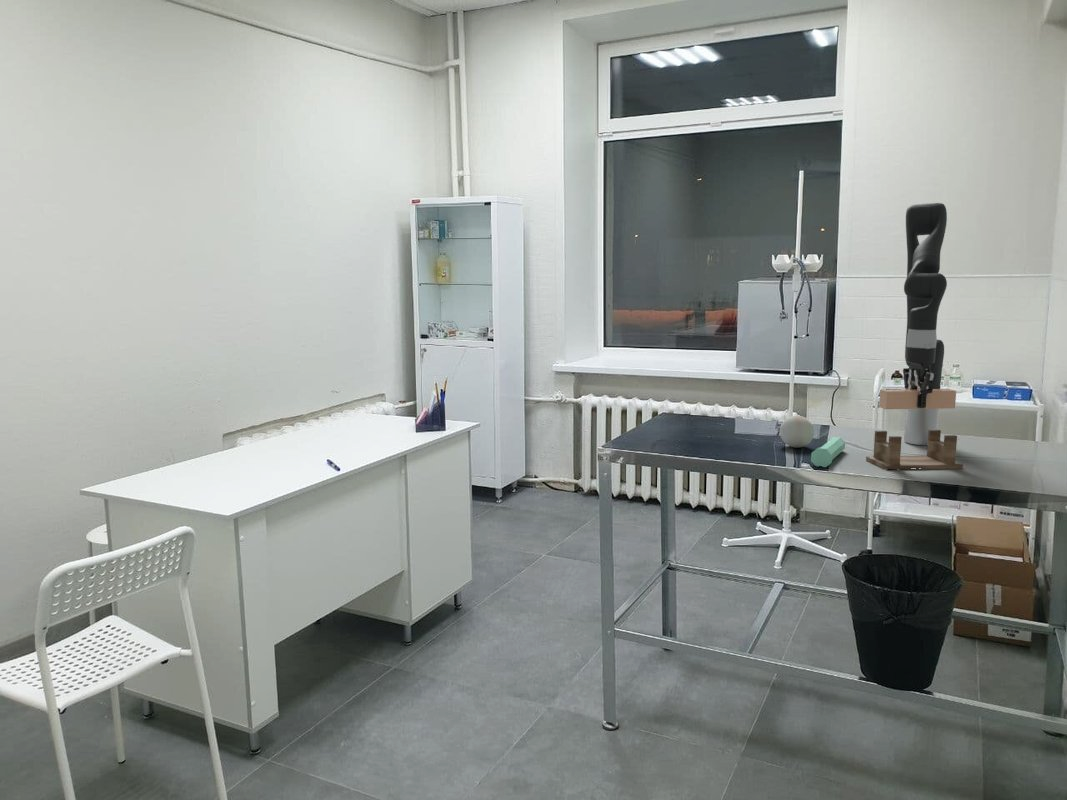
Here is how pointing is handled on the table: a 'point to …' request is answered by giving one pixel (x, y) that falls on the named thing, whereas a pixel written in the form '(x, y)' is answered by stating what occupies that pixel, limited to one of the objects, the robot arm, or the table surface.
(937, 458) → the rack
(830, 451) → the mint green octagonal prism
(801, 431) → the grey ball
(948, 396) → the tan rectangular block
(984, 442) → the table surface
